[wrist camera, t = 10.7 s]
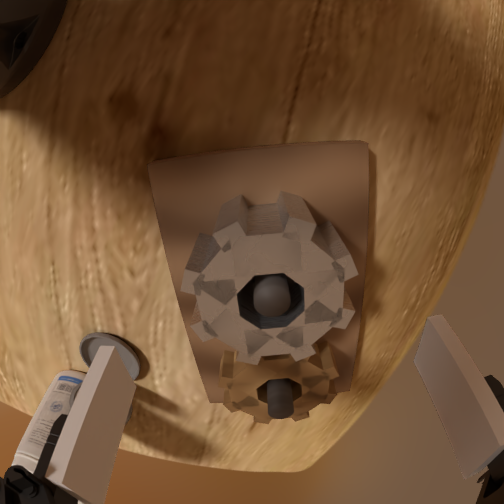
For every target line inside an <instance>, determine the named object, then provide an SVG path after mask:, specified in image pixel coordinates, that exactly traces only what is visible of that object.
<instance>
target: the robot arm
mask: <svg viewBox="0 0 504 504" xmlns="http://www.w3.org/2000/svg"><path fill="white" fill-rule="evenodd" d="M66 2H67V0H0V98H1V97H2V96H4V95H6V94H7V93H9V92H10V91H11V90H13V89H14V88H15V87H16V86H17V85H18V84H19V83H20V82H21V81H22V80H23V79H24V78H25V77H26V76H27V75H28V73H29V72H30V71H31V70H32V68H33V67H34V66H35V64H36V63H37V62H38V60H39V59H40V57H41V56H42V54H43V53H44V51H45V49H46V48H47V46H48V44H49V42H50V41H51V39H52V37H53V35H54V33H55V31H56V29H57V27H58V24H59V22H60V20H61V17H62V14H63V12H64V9H65V5H66ZM414 364H415V366H416V368H417V370H418V372H419V374H420V376H421V378H422V380H423V382H424V384H425V386H426V389H427V391H428V393H429V395H430V397H431V399H432V402H433V404H434V406H435V408H436V411H437V413H438V415H439V417H440V419H441V422H442V424H443V427H444V429H445V431H446V434H447V436H448V439H449V441H450V444H451V446H452V449H453V451H454V454H455V456H456V459H457V461H458V464H459V467H460V470H461V472H462V474H463V478H464V479H466V478H469V477H471V476H473V475H475V474H477V473H479V472H480V471H481V470H483V469H484V468H485V467H486V466H488V469H489V470H488V471H487V472H486V473H484V474H483V475H482V476H481V477H480V478H479V479H478V481H477V483H479V482H481V481H482V480H483V479H484V482H483V483H482V484H483V485H482V488H481V491H480V494H479V496H478V499H477V502H476V504H504V388H503V386H502V385H501V383H500V382H499V381H498V380H497V379H495V378H494V377H493V376H492V375H489V376H487V377H483V375H482V374H481V372H480V370H479V369H478V367H477V366H476V364H475V362H474V361H473V360H472V358H471V356H470V355H469V353H468V352H467V350H466V349H465V347H464V346H463V344H462V342H461V341H460V340H459V338H458V337H457V335H456V334H455V332H454V331H453V329H452V328H451V326H450V325H449V324H448V322H447V321H446V319H445V318H444V317H443V315H442V314H439V315H435V316H430V317H427V320H426V324H425V327H424V330H423V334H422V337H421V340H420V343H419V346H418V349H417V353H416V356H415V358H414ZM135 390H136V385H135V383H134V381H133V380H132V378H131V376H130V374H129V372H128V370H127V369H126V367H125V365H124V363H123V361H122V359H121V357H120V355H119V353H118V351H117V349H116V347H115V346H100V347H99V349H98V351H97V353H96V355H95V357H94V359H93V362H92V364H91V366H90V368H89V370H88V372H87V374H86V376H85V378H84V381H83V383H82V385H81V387H80V389H79V392H78V394H77V396H76V398H75V401H74V403H73V405H72V408H71V410H70V412H69V415H66V414H61V415H60V416H59V417H58V418H57V420H56V421H55V422H54V423H53V426H52V428H51V430H50V435H48V438H47V440H46V443H45V445H44V448H43V450H42V453H41V455H40V458H39V460H38V463H37V466H36V469H35V471H34V473H33V474H32V473H31V472H29V471H28V470H27V469H26V468H24V467H23V466H21V465H13V466H11V467H10V468H8V470H7V471H6V472H5V475H4V479H3V478H1V477H0V504H78V500H79V501H80V502H82V503H83V504H104V502H105V498H106V494H107V490H108V486H109V481H110V477H111V473H112V470H113V466H114V462H115V458H116V455H117V451H118V447H119V444H120V440H121V437H122V433H123V430H124V426H125V423H126V419H127V416H128V413H129V409H130V406H131V403H132V400H133V396H134V393H135Z"/></svg>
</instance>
